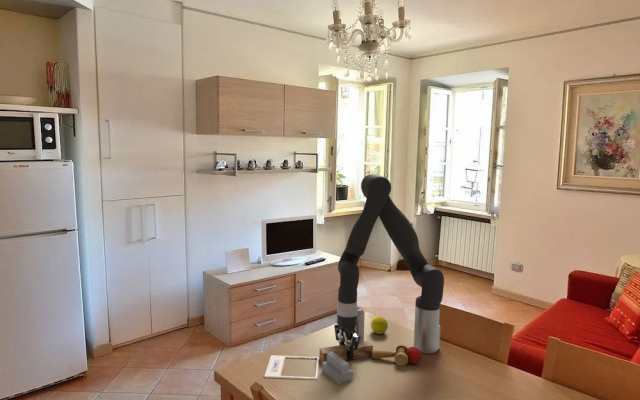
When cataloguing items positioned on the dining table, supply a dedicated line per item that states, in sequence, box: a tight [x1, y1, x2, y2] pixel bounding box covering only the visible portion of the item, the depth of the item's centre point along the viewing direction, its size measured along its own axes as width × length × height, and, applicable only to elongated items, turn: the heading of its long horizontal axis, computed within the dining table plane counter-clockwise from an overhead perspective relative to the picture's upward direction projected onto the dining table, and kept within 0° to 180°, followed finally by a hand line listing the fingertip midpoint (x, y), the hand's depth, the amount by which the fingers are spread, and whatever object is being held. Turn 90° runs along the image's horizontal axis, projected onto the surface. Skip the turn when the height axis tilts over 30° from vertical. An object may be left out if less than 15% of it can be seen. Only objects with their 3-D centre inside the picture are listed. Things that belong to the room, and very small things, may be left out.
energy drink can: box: [348, 306, 366, 342], centre depth 169 cm, size 6×6×15 cm
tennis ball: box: [370, 316, 389, 335], centre depth 180 cm, size 7×7×7 cm
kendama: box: [371, 344, 423, 367], centre depth 157 cm, size 8×6×18 cm
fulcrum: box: [321, 352, 354, 385], centre depth 147 cm, size 6×10×6 cm, turn 31°
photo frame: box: [263, 354, 320, 381], centre depth 152 cm, size 15×1×18 cm
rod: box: [318, 340, 374, 363], centre depth 160 cm, size 20×4×4 cm, turn 110°
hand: (346, 355), depth 160 cm, fingers closed on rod, 4 cm apart
